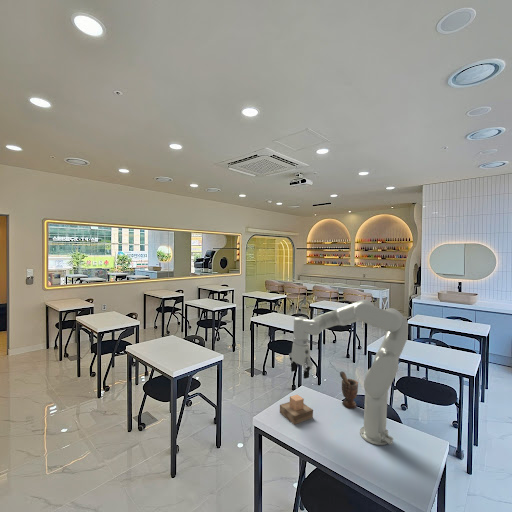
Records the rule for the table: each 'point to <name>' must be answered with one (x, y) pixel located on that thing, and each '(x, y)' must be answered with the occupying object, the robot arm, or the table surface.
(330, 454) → the table surface
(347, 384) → the mortar and pestle
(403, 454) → the table surface
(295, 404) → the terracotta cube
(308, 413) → the walnut base
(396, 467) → the table surface
